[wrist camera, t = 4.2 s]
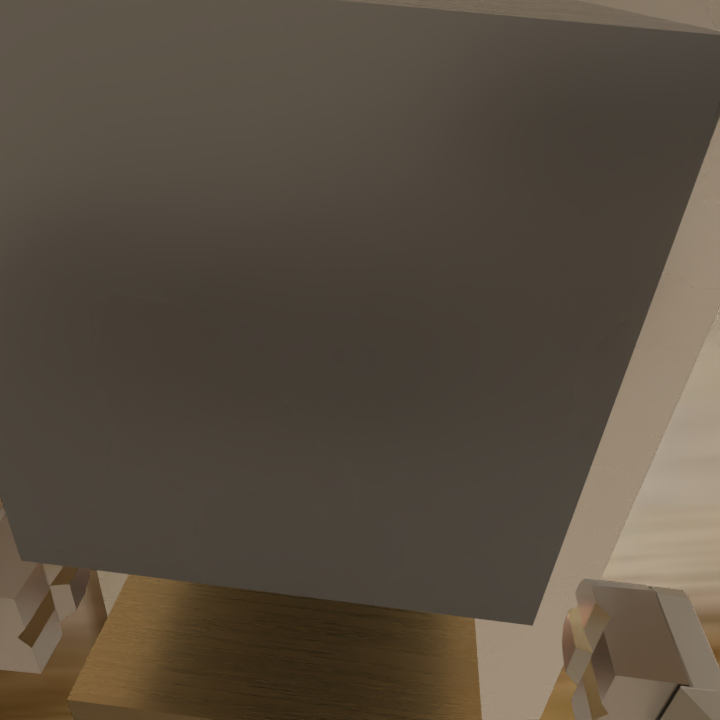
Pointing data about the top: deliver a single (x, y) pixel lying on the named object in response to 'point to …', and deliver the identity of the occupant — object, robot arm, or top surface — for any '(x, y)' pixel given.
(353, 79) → the bolt plate
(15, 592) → the robot arm
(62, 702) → the top surface
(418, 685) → the wooden block peg
